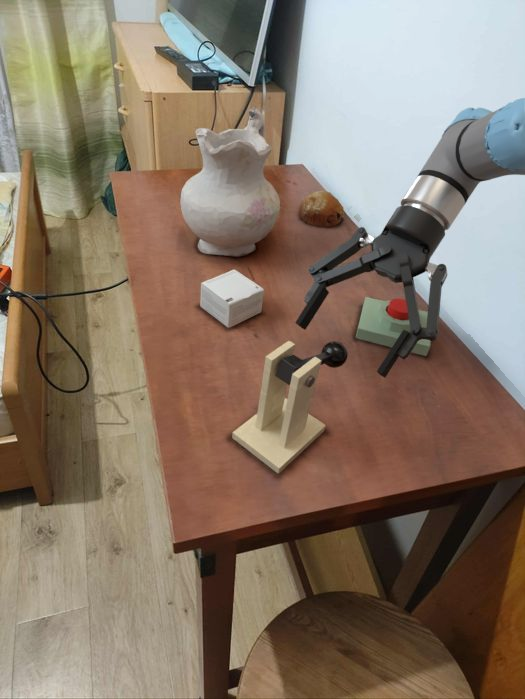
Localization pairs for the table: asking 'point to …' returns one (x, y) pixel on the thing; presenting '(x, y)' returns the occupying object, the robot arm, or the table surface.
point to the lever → (330, 355)
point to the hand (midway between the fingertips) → (338, 349)
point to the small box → (231, 298)
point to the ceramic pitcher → (231, 190)
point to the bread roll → (321, 209)
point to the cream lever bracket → (282, 413)
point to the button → (398, 309)
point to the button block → (387, 326)
